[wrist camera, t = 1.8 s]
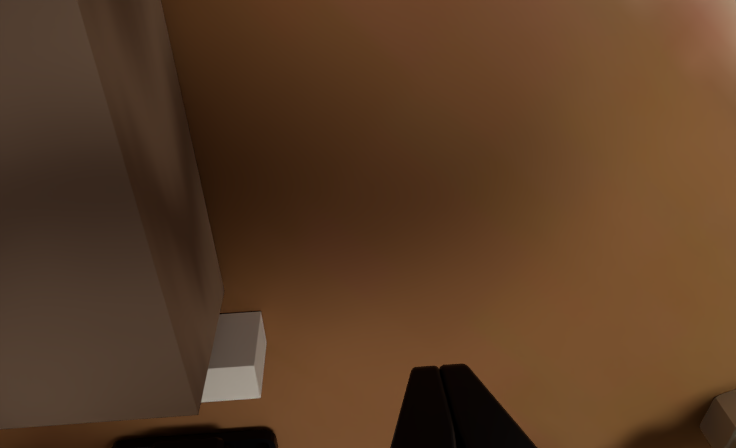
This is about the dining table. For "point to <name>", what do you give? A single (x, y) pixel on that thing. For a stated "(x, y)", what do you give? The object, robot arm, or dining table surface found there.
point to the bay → (236, 358)
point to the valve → (721, 421)
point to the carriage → (99, 220)
